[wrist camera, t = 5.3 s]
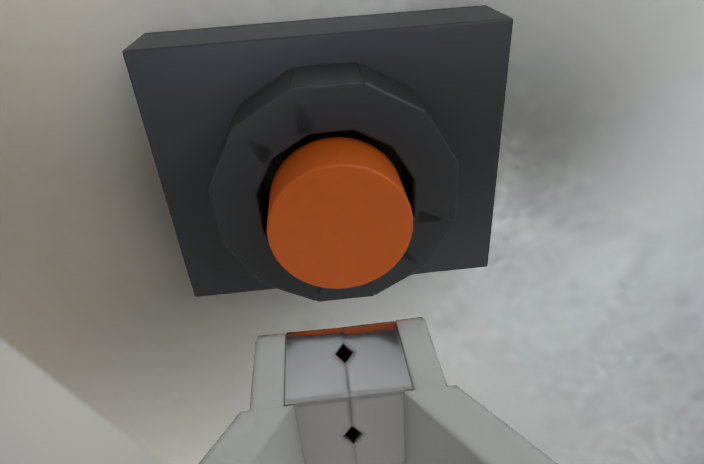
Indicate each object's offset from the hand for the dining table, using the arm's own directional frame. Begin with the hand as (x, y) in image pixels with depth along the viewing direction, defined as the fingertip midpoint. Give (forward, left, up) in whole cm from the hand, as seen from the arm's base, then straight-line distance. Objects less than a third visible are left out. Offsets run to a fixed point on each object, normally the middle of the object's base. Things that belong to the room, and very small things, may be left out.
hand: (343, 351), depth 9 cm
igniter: (0, 0, -5) cm, 6 cm away
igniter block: (0, 0, -9) cm, 9 cm away
